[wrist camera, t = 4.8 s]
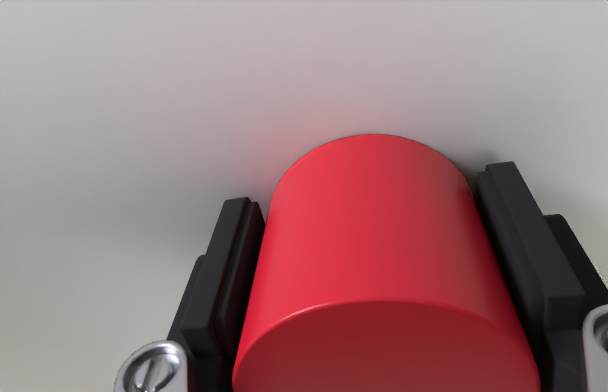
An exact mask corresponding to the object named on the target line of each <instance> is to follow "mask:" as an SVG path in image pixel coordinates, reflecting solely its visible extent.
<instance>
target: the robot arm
mask: <svg viewBox="0 0 608 392" xmlns="http://www.w3.org/2000/svg"><path fill="white" fill-rule="evenodd" d="M477 207H478V210H479V212H480V215H481V218H482V220H483V223H484V226H485V228H486V231H487V234H488V236H489V239H490V242H491V244H492V247H493V250H494V252H495V255H496V258H497V260H498V263H499V266H500V268H501V271H502V274H503V276H504V279H505V282H506V284H507V287H508V290H509V292H510V295H511V298H512V300H513V303H514V306H515V308H516V311H517V314H518V316H519V319H520V322H521V324H522V327H523V330H524V332H525V335H526V338H527V340H528V343H529V346H530V348H531V351H532V354H533V356H534V359H535V362H536V364H537V367H538V371H539V375H540V379H541V392H608V289H607V288H606V286H605V284H604V283H603V281H602V279H601V278H600V276H599V274H598V273H597V271H596V269H595V268H594V266H593V264H592V263H591V261H590V259H589V258H588V256H587V254H586V253H585V251H584V250H583V248H582V246H581V245H580V243H579V241H578V240H577V238H576V236H575V235H574V233H573V231H572V230H571V228H570V226H569V225H568V223H567V221H566V220H565V219H564V217H563V216H562V215H560V214H555V215H546V216H543V215H542V213H541V211H540V209H539V207H538V205H537V204H536V202H535V200H534V198H533V196H532V194H531V193H530V191H529V189H528V187H527V185H526V183H525V182H524V180H523V178H522V176H521V174H520V172H519V171H518V169H517V167H516V165H515V164H514V162H512V161H511V162H503V163H496V164H489V165H486V168H485V171H484V172H478V173H477ZM265 226H266V225H265V222H264V219H263V216H262V213H261V210H260V207H259V204H258V203H257V202H251V200H250V199H249V198H248V197H245V198H237V199H230V200H226V201H225V202H224V204H223V207H222V210H221V213H220V215H219V218H218V221H217V224H216V226H215V229H214V232H213V235H212V238H211V240H210V243H209V246H208V249H207V252H206V254H205V255H201V256H199V257H198V259H197V260H196V262H195V265H194V268H193V270H192V273H191V276H190V278H189V281H188V284H187V286H186V289H185V292H184V294H183V297H182V300H181V302H180V305H179V308H178V310H177V313H176V316H175V318H174V321H173V324H172V326H171V329H170V332H169V334H168V337H167V340H161V341H156V342H152V343H150V344H147V345H145V346H143V347H141V348H140V349H138V350H137V351H135V352H134V353H132V354H131V355H130V357H129V358H128V359H127V360H126V361H125V362H124V363H123V365H122V366H121V368H120V369H119V371H118V373H117V376H116V379H115V383H114V390H113V392H233V389H232V374H233V370H234V365H235V361H236V356H237V352H238V347H239V343H240V338H241V334H242V329H243V325H244V320H245V316H246V311H247V307H248V302H249V298H250V293H251V289H252V284H253V280H254V275H255V271H256V266H257V262H258V257H259V253H260V248H261V244H262V239H263V235H264V230H265Z"/></svg>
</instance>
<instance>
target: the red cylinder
mask: <svg viewBox="0 0 608 392" xmlns="http://www.w3.org/2000/svg"><path fill="white" fill-rule="evenodd" d="M232 389H233V392H541V379H540V375H539V371H538V367H537V364H536V362H535V359H534V356H533V354H532V351H531V348H530V346H529V343H528V340H527V338H526V335H525V332H524V330H523V327H522V324H521V322H520V319H519V316H518V314H517V311H516V308H515V306H514V303H513V300H512V298H511V295H510V292H509V290H508V287H507V284H506V282H505V279H504V276H503V274H502V271H501V268H500V266H499V263H498V260H497V258H496V255H495V252H494V250H493V247H492V244H491V242H490V239H489V236H488V234H487V231H486V228H485V226H484V223H483V220H482V218H481V215H480V212H479V210H478V207H477V204H476V202H475V199H474V196H473V194H472V191H471V189H470V187H469V185H468V183H467V180H466V179H465V178H464V176H463V175H462V173H461V172H460V170H459V169H458V168H457V167H456V166H455V165H454V164H453V163H452V162H451V161H450V160H448V159H447V158H446V157H444V156H443V155H442V154H440V153H439V152H437V151H435V150H434V149H432V148H430V147H428V146H426V145H424V144H421V143H419V142H416V141H413V140H410V139H406V138H402V137H397V136H390V135H373V134H369V135H358V136H352V137H347V138H342V139H339V140H336V141H333V142H330V143H327V144H325V145H323V146H321V147H318V148H316V149H314V150H313V151H311V152H310V153H308V154H306V155H305V156H303V157H302V158H301V159H300V160H298V161H297V162H296V163H295V164H294V165H292V166H291V168H290V169H289V170H288V171H287V172H286V173H285V174H284V176H283V177H282V179H281V180H280V182H279V183H278V185H277V187H276V189H275V191H274V194H273V196H272V200H271V204H270V208H269V212H268V217H267V221H266V226H265V230H264V235H263V239H262V244H261V248H260V253H259V257H258V262H257V266H256V271H255V275H254V280H253V284H252V289H251V293H250V298H249V302H248V307H247V311H246V316H245V320H244V325H243V329H242V334H241V338H240V343H239V347H238V352H237V356H236V361H235V365H234V370H233V374H232Z"/></svg>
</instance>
